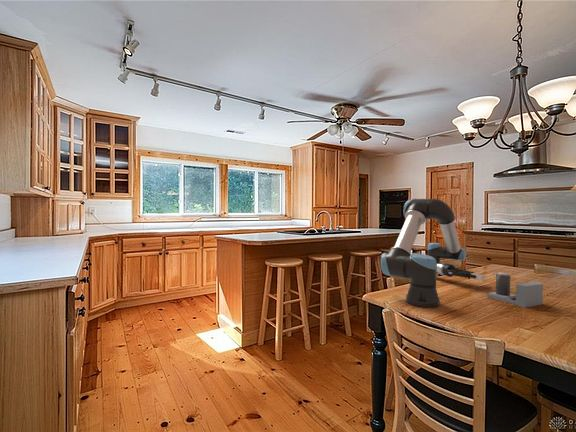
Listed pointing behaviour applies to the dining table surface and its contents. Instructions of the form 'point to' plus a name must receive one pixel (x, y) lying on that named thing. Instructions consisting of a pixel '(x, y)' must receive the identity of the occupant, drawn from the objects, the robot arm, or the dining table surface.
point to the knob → (503, 286)
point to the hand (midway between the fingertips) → (482, 278)
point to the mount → (525, 295)
